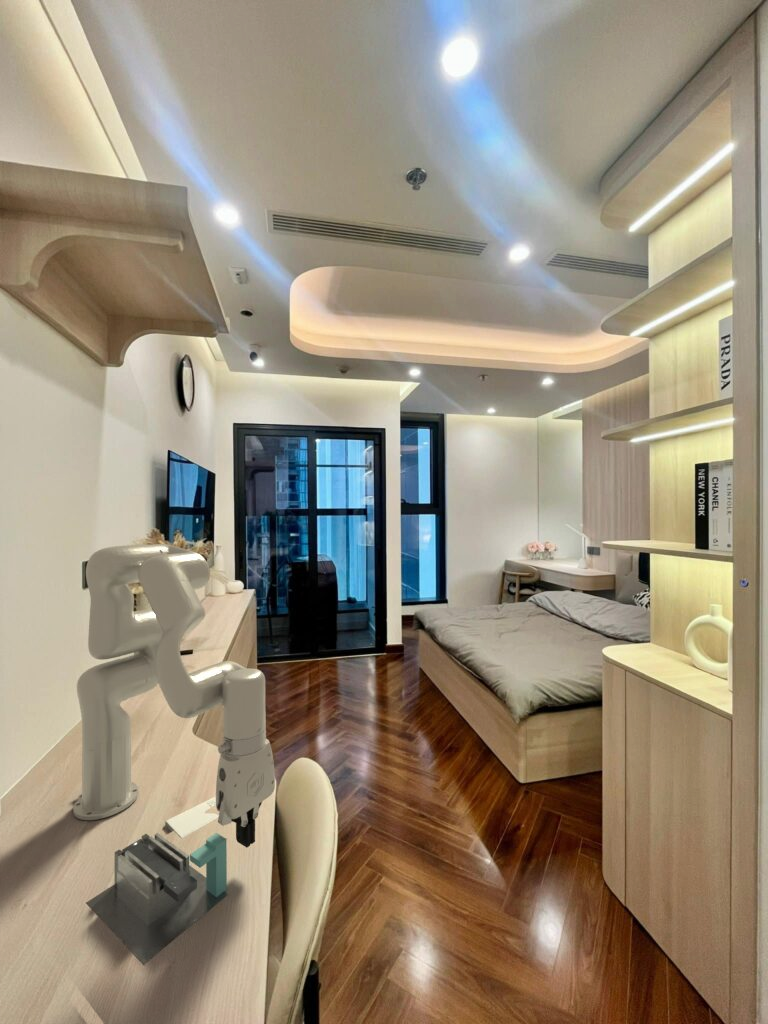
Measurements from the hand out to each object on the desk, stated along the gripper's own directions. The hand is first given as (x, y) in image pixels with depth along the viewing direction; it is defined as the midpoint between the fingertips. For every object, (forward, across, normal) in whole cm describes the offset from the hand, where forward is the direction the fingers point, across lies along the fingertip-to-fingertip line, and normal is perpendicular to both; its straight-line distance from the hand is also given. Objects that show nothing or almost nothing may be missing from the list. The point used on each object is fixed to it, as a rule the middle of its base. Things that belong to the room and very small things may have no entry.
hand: (245, 841), depth 79 cm
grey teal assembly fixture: (+5, -12, +7) cm, 15 cm away
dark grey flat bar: (0, -13, +7) cm, 14 cm away
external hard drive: (+6, +4, +20) cm, 21 cm away
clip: (+4, -7, 0) cm, 9 cm away
